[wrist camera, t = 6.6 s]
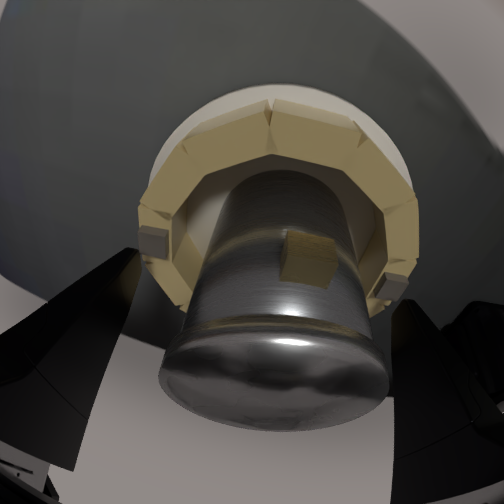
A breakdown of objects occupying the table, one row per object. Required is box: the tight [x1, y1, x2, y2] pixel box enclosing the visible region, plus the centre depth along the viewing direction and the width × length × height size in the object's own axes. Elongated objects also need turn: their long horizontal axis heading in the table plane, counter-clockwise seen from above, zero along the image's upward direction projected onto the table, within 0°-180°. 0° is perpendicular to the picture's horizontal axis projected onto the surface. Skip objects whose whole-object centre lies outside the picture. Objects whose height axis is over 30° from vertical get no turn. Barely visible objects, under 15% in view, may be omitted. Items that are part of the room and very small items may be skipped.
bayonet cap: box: [158, 170, 389, 432], centre depth 9 cm, size 6×5×7 cm
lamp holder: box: [138, 83, 419, 318], centre depth 11 cm, size 11×11×4 cm
